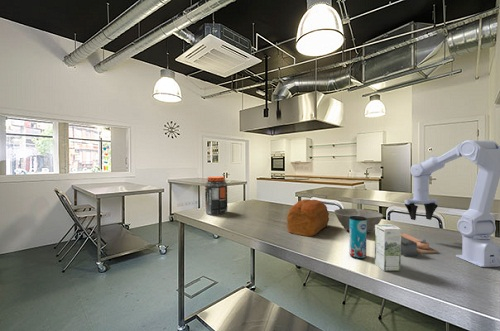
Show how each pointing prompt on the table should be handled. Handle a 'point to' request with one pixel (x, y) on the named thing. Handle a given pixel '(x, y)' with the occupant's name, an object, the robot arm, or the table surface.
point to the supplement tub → (216, 196)
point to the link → (417, 241)
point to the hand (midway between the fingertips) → (420, 219)
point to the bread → (307, 217)
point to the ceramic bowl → (345, 214)
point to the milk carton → (388, 247)
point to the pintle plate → (426, 251)
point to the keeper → (408, 247)
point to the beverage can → (358, 237)
